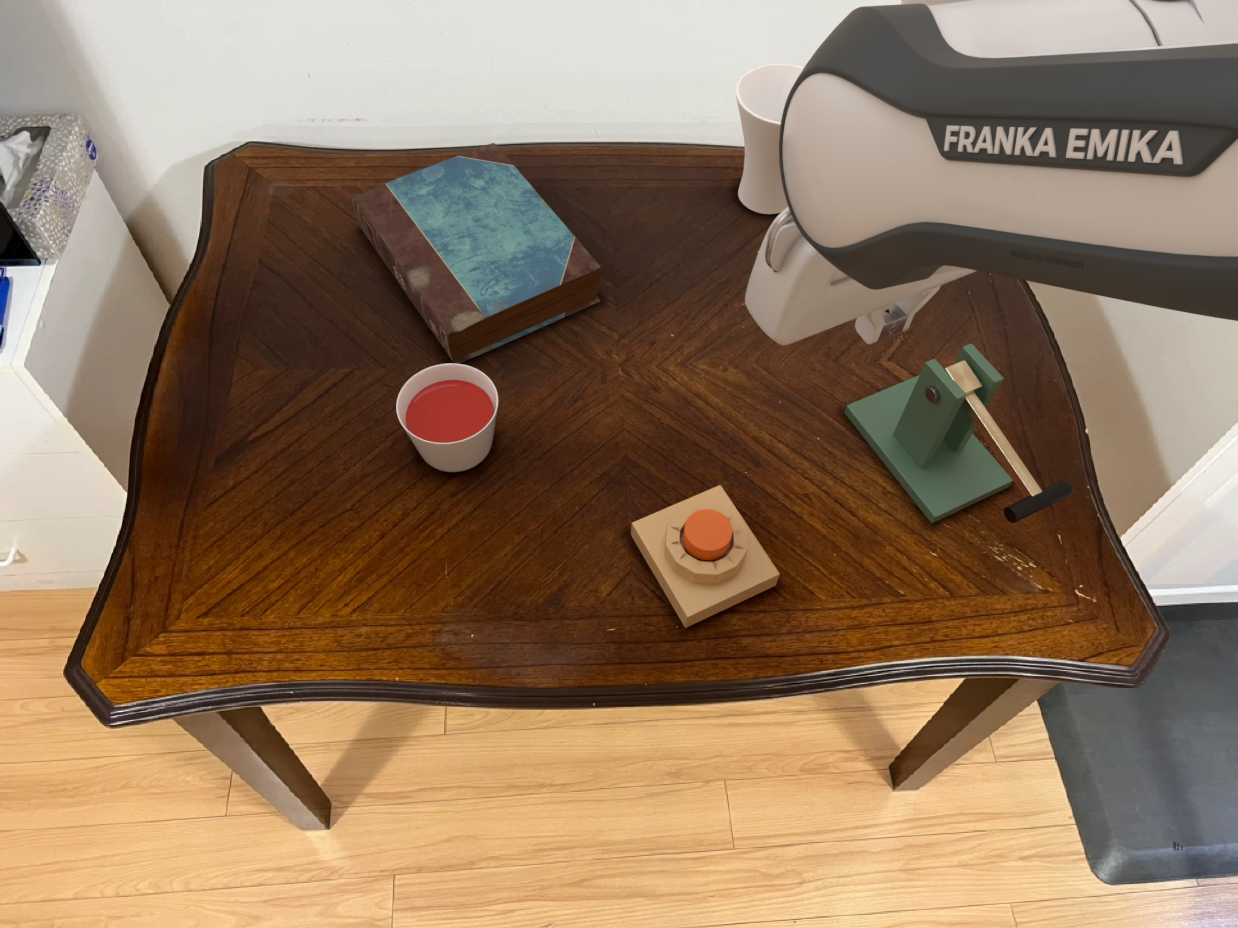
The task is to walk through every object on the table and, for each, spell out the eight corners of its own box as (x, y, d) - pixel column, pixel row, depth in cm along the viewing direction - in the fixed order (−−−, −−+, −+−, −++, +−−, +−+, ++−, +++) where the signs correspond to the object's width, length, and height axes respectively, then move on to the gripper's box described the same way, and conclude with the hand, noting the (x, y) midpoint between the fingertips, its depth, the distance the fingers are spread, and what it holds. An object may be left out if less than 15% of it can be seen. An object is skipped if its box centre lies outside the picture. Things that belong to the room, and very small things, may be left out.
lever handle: (1063, 500, 80) (1078, 489, 78) (1007, 527, 79) (1022, 517, 76) (970, 365, 85) (982, 351, 82) (915, 388, 83) (927, 375, 81)
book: (359, 230, 105) (349, 195, 101) (499, 177, 111) (496, 141, 107) (452, 367, 95) (446, 334, 91) (602, 300, 100) (603, 266, 96)
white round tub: (462, 390, 93) (455, 347, 88) (523, 444, 90) (519, 404, 84) (388, 441, 90) (375, 400, 84) (448, 500, 86) (438, 461, 81)
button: (738, 549, 80) (741, 539, 78) (697, 568, 79) (699, 558, 77) (714, 512, 82) (717, 502, 80) (674, 530, 81) (675, 520, 79)
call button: (776, 585, 82) (783, 563, 79) (685, 628, 80) (689, 607, 76) (717, 497, 87) (722, 473, 84) (630, 535, 85) (632, 512, 81)
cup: (715, 166, 113) (729, 63, 101) (802, 165, 113) (826, 62, 102) (726, 228, 107) (742, 125, 96) (818, 225, 107) (845, 123, 96)
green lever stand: (1008, 487, 88) (1061, 410, 79) (931, 524, 86) (975, 450, 76) (917, 381, 95) (955, 298, 85) (843, 412, 93) (873, 331, 83)
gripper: (812, 248, 44) (766, 424, 56) (1140, 130, 50) (1036, 312, 61) (742, 167, 47) (712, 350, 59) (1058, 64, 53) (974, 250, 64)
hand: (880, 330), depth 60 cm, fingers closed
